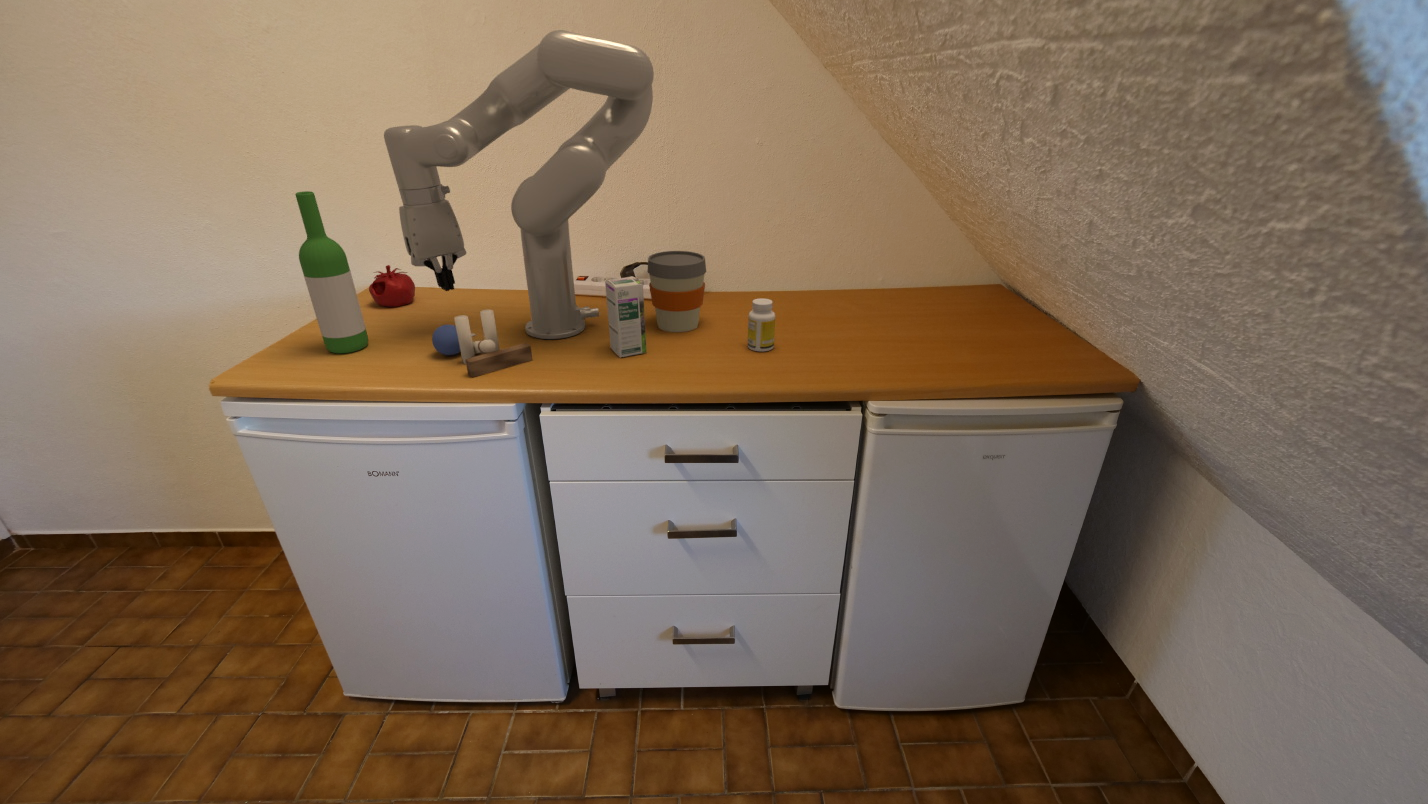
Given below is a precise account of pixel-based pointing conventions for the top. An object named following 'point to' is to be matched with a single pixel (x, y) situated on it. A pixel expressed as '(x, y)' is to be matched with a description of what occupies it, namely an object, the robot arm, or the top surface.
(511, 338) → the top surface
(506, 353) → the back rail
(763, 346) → the supplement bottle
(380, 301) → the pomegranate
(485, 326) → the pin back near
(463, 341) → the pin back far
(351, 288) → the wine bottle
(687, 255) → the reusable coffee cup
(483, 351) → the pin front
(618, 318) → the syrup box
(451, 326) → the ball
